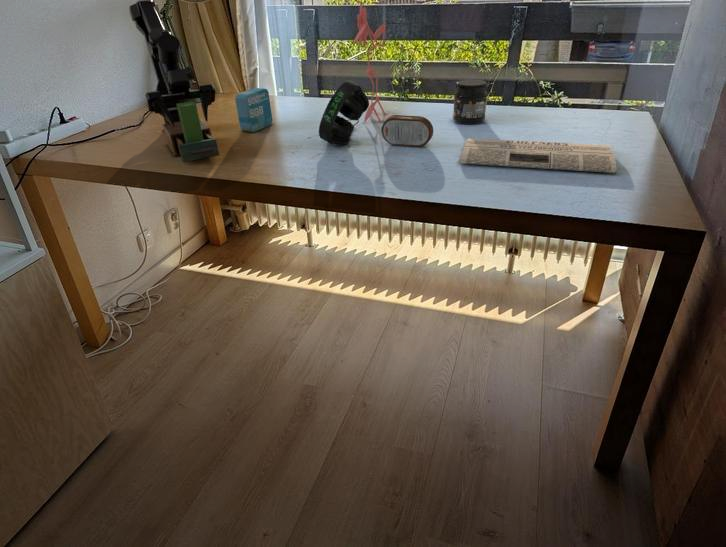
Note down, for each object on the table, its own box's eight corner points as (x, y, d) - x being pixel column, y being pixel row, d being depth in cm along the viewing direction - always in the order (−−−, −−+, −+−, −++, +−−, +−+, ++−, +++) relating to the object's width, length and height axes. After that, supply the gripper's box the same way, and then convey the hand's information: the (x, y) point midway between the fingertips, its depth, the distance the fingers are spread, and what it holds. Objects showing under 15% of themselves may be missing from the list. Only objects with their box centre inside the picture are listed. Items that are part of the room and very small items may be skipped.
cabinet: (214, 149, 149) (209, 128, 145) (175, 156, 144) (170, 134, 141) (204, 138, 159) (199, 118, 155) (167, 144, 155) (162, 124, 151)
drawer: (222, 158, 138) (219, 142, 136) (186, 166, 134) (181, 149, 132) (209, 144, 150) (205, 128, 148) (175, 150, 146) (171, 134, 144)
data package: (251, 133, 161) (245, 95, 155) (240, 132, 163) (234, 94, 157) (273, 123, 170) (268, 87, 163) (262, 122, 172) (257, 86, 165)
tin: (433, 145, 143) (434, 115, 138) (430, 148, 140) (431, 118, 136) (383, 142, 147) (383, 113, 143) (380, 145, 145) (379, 116, 140)
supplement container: (457, 115, 169) (460, 78, 162) (488, 117, 165) (491, 80, 158) (448, 123, 161) (450, 85, 154) (480, 126, 157) (483, 86, 150)
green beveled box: (187, 149, 144) (176, 103, 137) (202, 146, 145) (192, 101, 138) (190, 153, 140) (179, 106, 133) (206, 150, 142) (195, 104, 135)
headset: (351, 159, 161) (332, 142, 132) (316, 138, 162) (289, 118, 134) (379, 110, 158) (365, 82, 130) (343, 89, 160) (322, 58, 131)
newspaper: (459, 166, 127) (460, 155, 126) (468, 143, 143) (469, 133, 141) (614, 175, 117) (617, 164, 116) (606, 149, 133) (608, 139, 131)
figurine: (391, 108, 181) (389, 0, 162) (378, 128, 159) (375, 6, 141) (350, 108, 184) (344, 1, 165) (333, 127, 162) (323, 8, 144)
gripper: (136, 61, 130) (153, 112, 127) (206, 52, 137) (224, 101, 134) (140, 87, 140) (157, 135, 137) (206, 78, 147) (222, 123, 145)
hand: (190, 123), depth 138 cm, fingers open, 9 cm apart
